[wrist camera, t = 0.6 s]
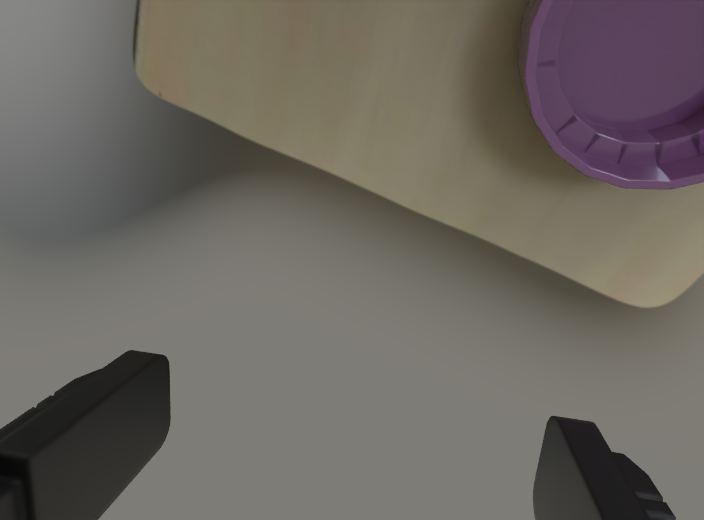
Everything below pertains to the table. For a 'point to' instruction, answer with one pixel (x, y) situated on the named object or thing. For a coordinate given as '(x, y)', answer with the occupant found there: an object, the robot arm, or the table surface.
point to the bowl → (618, 87)
